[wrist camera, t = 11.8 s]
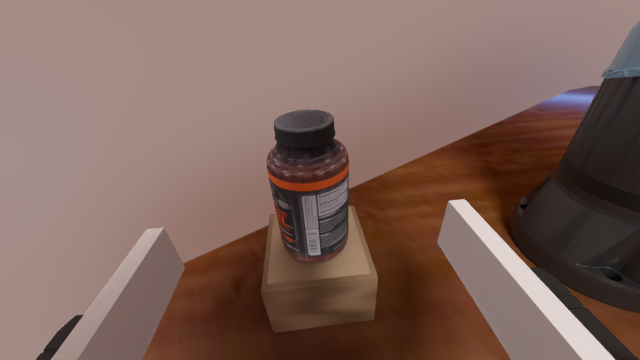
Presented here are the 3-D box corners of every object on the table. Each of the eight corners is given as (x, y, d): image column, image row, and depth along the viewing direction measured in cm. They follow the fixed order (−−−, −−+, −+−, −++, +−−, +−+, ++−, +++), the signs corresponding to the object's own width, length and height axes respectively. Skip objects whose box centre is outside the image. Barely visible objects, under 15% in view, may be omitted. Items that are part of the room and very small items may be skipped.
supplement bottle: (273, 231, 24) (247, 115, 18) (327, 210, 26) (321, 99, 20) (299, 278, 19) (275, 144, 13) (362, 247, 21) (367, 120, 15)
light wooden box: (353, 244, 30) (354, 203, 27) (374, 319, 22) (378, 275, 19) (278, 253, 30) (269, 212, 26) (273, 332, 22) (259, 289, 19)
